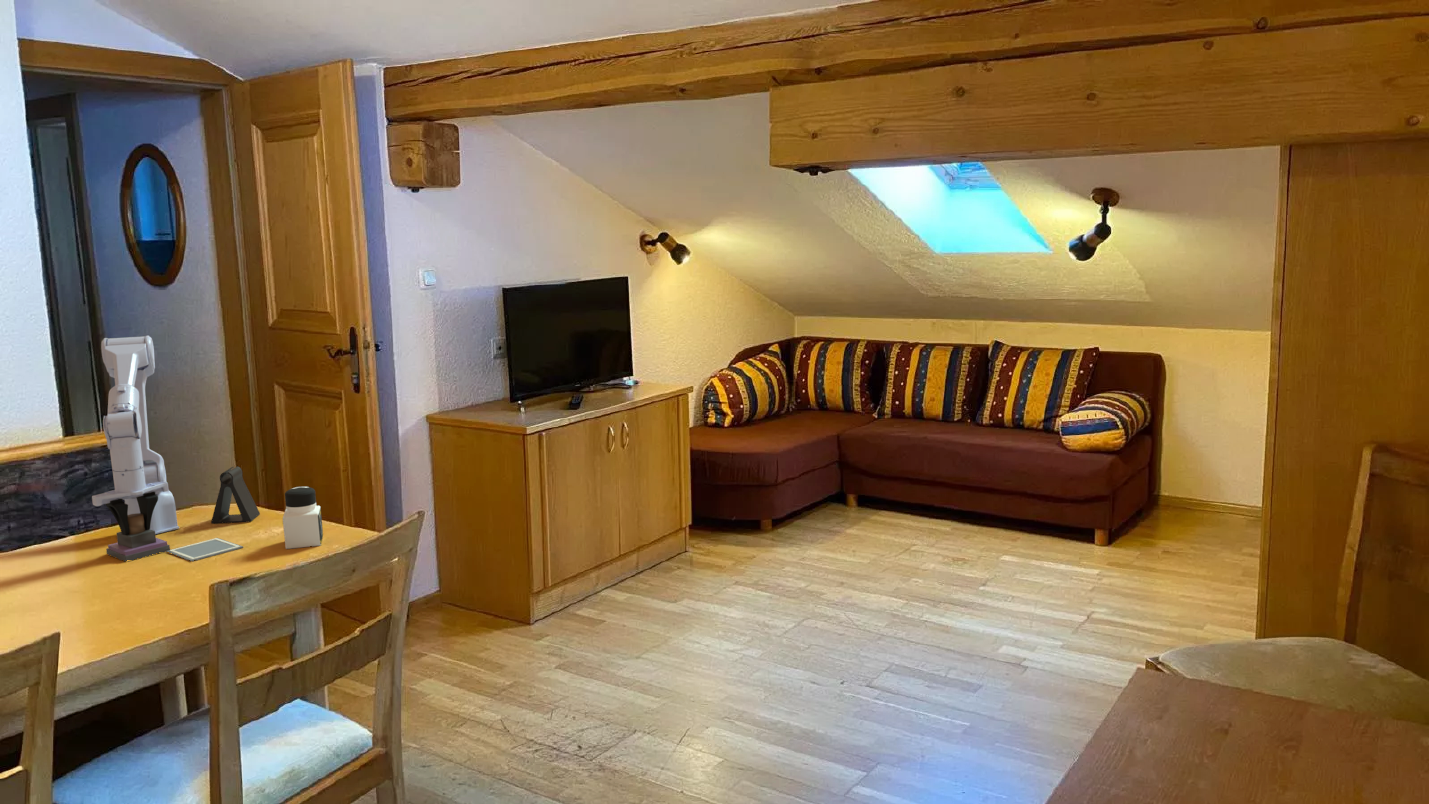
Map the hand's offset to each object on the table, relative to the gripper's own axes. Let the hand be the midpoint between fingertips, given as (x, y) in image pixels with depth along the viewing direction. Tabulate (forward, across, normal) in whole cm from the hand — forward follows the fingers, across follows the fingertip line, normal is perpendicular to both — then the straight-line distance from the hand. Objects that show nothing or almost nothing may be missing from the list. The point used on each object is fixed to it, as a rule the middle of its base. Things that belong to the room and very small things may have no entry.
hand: (135, 531), depth 226 cm
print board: (+5, +9, -10) cm, 15 cm away
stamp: (+3, 0, 0) cm, 3 cm away
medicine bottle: (+5, +24, -24) cm, 34 cm away
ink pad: (+5, 0, 0) cm, 5 cm away
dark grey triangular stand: (+5, +25, +7) cm, 26 cm away
